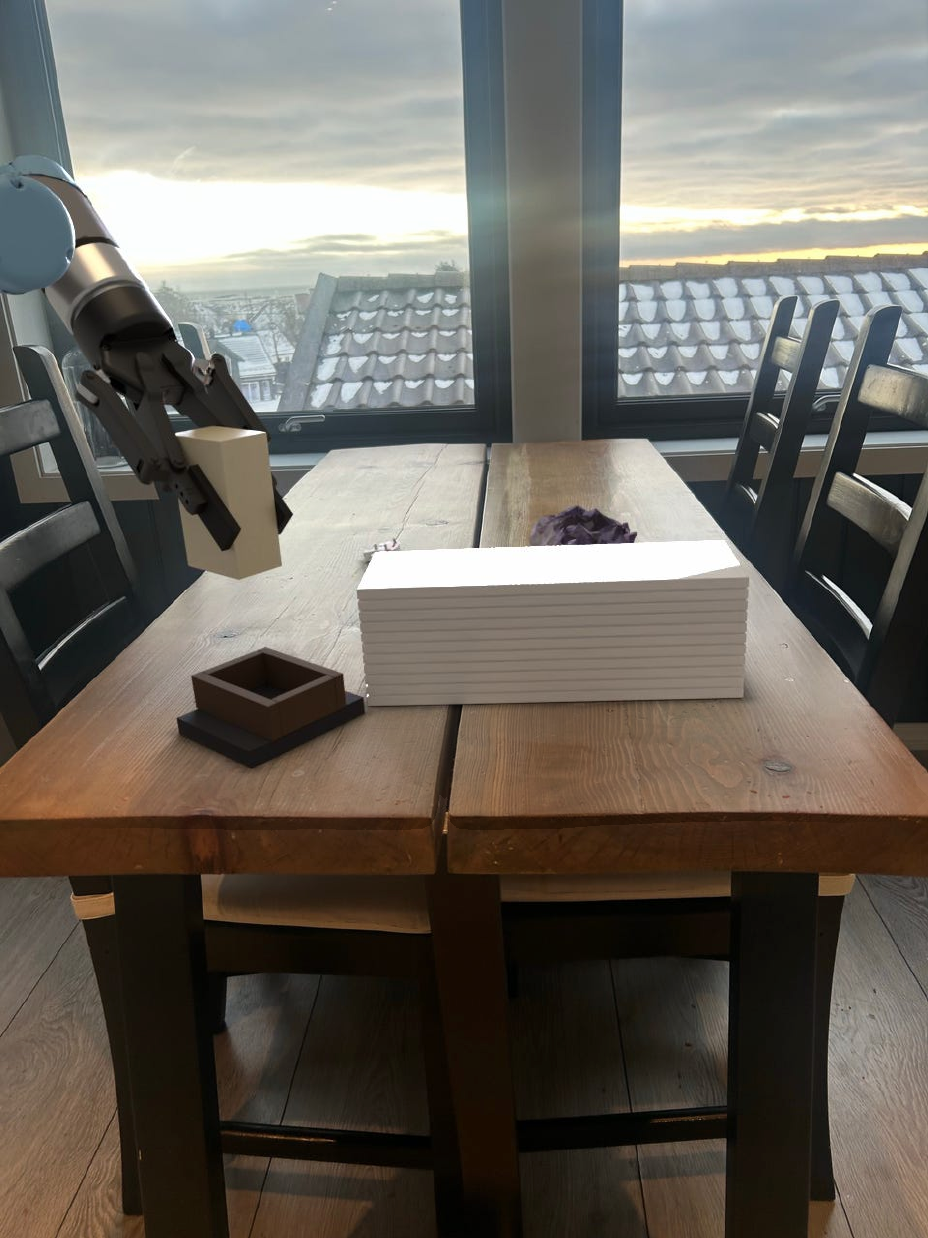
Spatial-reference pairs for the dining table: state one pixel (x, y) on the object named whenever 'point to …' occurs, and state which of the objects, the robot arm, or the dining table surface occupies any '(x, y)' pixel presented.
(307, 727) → the square socket base
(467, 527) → the dining table surface
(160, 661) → the dining table surface
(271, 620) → the dining table surface
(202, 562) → the cream rectangular block
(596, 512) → the geode
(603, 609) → the stack of papers
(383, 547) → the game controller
